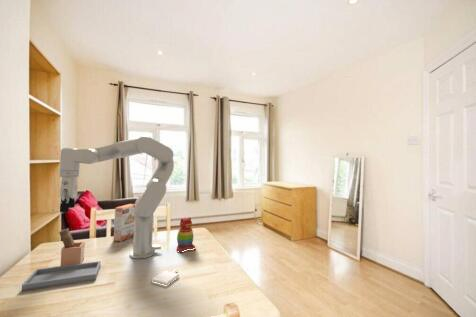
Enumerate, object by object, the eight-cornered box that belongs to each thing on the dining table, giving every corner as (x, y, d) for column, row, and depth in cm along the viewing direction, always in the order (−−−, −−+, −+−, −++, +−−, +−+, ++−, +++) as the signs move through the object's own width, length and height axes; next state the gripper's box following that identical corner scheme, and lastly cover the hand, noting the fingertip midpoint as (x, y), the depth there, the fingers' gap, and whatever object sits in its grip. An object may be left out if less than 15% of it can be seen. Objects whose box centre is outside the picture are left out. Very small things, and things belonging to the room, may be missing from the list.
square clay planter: (83, 259, 113) (84, 241, 113) (80, 266, 106) (81, 247, 106) (65, 261, 110) (66, 243, 110) (60, 268, 103) (61, 249, 103)
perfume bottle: (151, 278, 94) (169, 266, 105) (151, 283, 94) (169, 270, 105) (166, 283, 91) (183, 270, 102) (166, 288, 91) (183, 274, 102)
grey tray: (100, 266, 106) (100, 261, 106) (95, 279, 94) (95, 274, 94) (36, 275, 97) (36, 269, 97) (21, 291, 85) (21, 284, 85)
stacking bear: (178, 253, 124) (180, 221, 124) (173, 247, 132) (174, 217, 132) (197, 250, 130) (198, 219, 130) (190, 244, 138) (191, 215, 138)
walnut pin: (80, 259, 110) (80, 226, 110) (78, 262, 107) (79, 228, 107) (60, 262, 107) (61, 228, 107) (58, 265, 104) (59, 230, 104)
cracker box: (121, 242, 137) (122, 208, 138) (113, 241, 139) (114, 207, 139) (136, 234, 151) (137, 204, 151) (128, 234, 152) (129, 203, 153)
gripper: (74, 175, 101) (71, 213, 100) (82, 172, 116) (81, 205, 116) (53, 175, 98) (51, 214, 97) (65, 172, 113) (63, 206, 113)
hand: (67, 209), depth 107 cm, fingers open, 9 cm apart
